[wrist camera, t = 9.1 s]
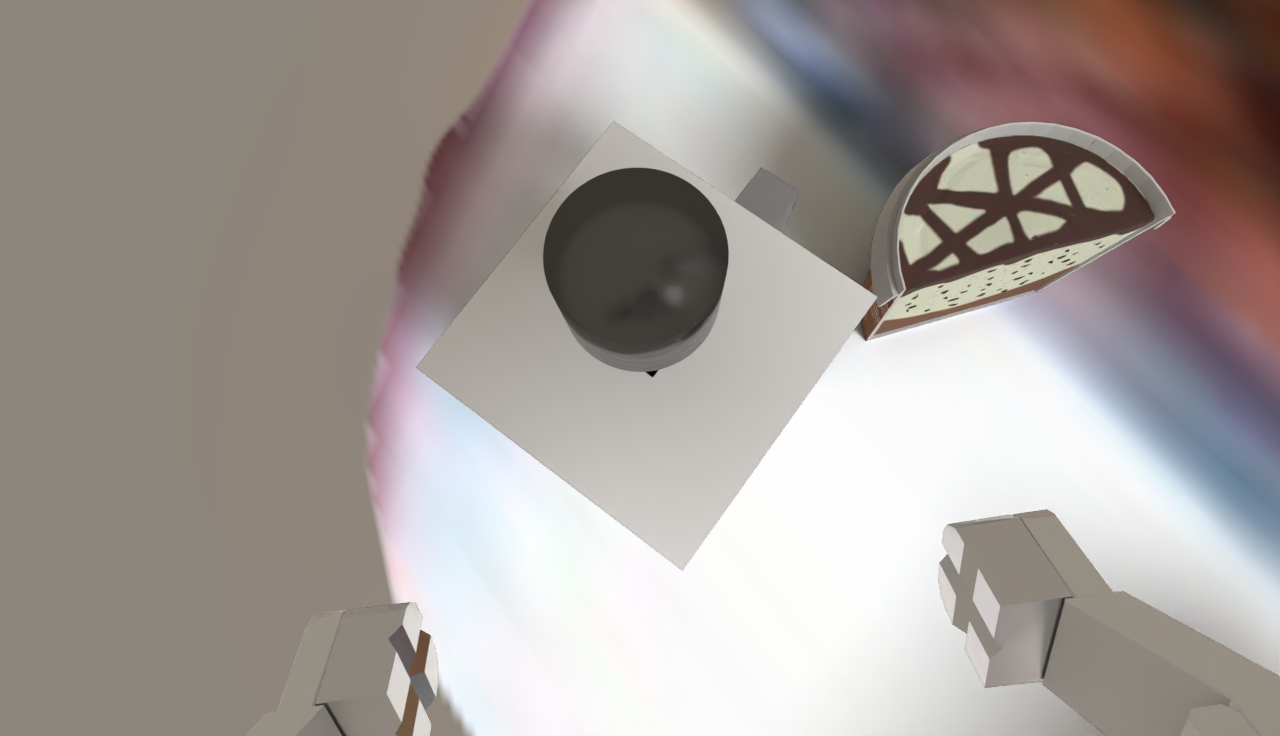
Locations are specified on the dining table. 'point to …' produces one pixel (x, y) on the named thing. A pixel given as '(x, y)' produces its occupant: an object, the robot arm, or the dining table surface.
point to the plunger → (637, 267)
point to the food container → (1002, 221)
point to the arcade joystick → (677, 395)
